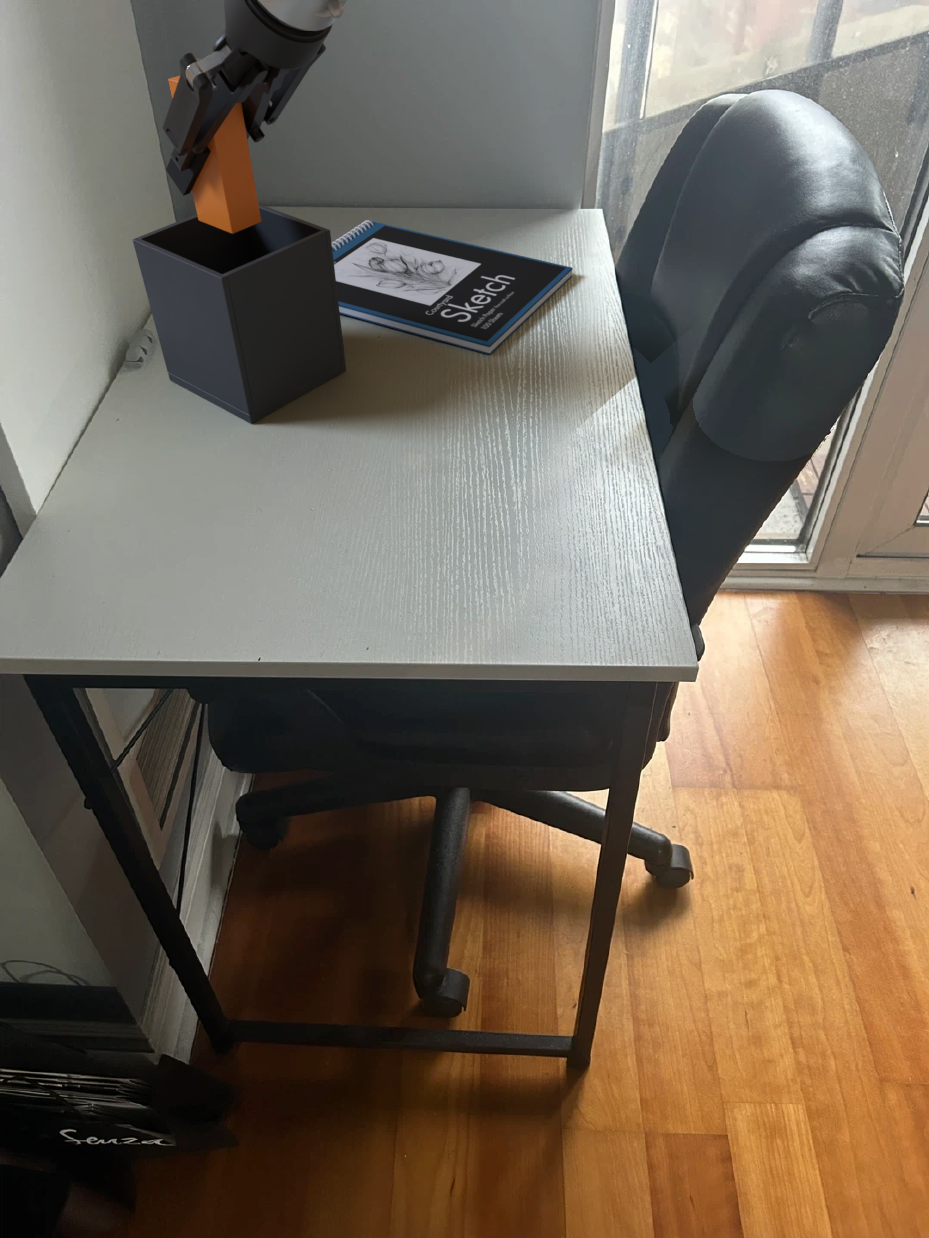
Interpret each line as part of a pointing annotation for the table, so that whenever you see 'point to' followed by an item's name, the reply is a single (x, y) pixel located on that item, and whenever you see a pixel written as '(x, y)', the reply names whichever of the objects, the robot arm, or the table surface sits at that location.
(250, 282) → the bin
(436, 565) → the table surface
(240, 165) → the block
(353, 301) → the sketchbook
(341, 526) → the table surface
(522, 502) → the table surface
